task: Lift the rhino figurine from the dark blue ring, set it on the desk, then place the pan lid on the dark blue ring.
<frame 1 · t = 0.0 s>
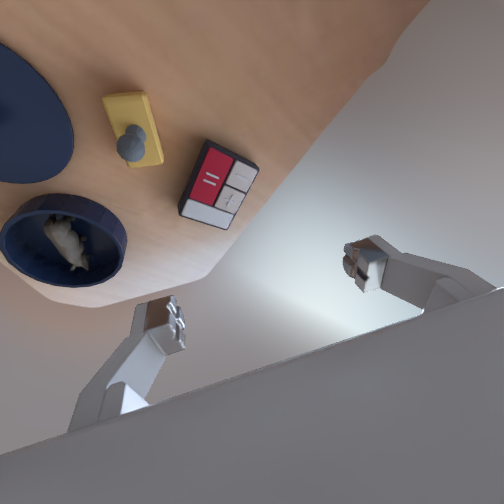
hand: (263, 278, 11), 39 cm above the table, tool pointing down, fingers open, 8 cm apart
calculator: (216, 184, 49), on the table
rubber stamp: (137, 128, 39), on the table
rhino figurine: (75, 235, 48), resting on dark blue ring
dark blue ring: (76, 235, 48), on the table
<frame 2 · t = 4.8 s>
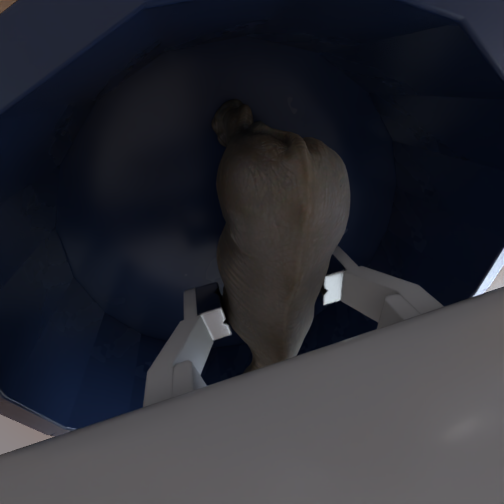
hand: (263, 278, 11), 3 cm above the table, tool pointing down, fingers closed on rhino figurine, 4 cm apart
rhino figurine: (249, 247, 13), resting on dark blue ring, touching gripper
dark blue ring: (249, 246, 13), on the table
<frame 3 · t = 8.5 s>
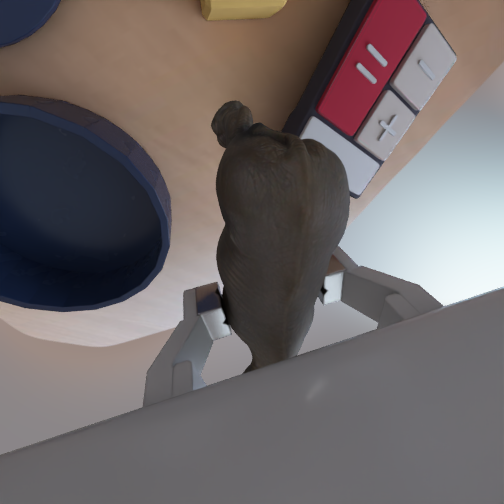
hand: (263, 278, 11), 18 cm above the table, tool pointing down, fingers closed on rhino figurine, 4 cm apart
calculator: (348, 105, 25), on the table
rhino figurine: (249, 248, 13), point 15 cm above the table, touching gripper
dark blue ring: (75, 205, 24), on the table
when the fingers open (2 cm above the table, at t = 12.5 s): rhino figurine stays where it is, on the table.
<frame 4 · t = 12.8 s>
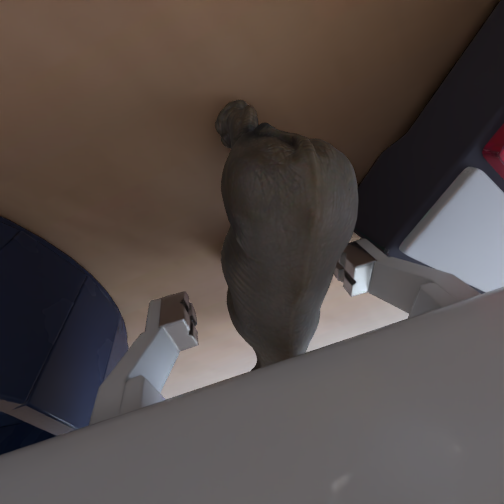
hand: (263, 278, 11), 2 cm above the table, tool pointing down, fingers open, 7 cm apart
calculator: (495, 127, 12), on the table, touching gripper
rhino figurine: (253, 248, 13), on the table
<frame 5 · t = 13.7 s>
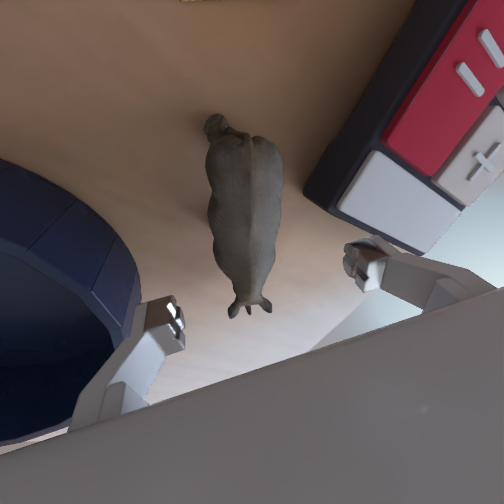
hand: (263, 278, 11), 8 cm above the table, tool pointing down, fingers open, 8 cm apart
calculator: (413, 126, 17), on the table
rhino figurine: (234, 219, 18), on the table
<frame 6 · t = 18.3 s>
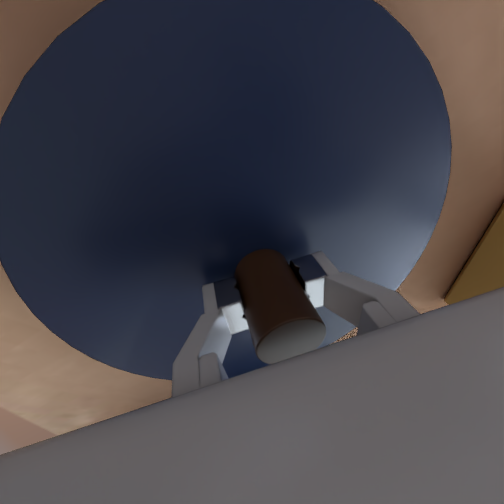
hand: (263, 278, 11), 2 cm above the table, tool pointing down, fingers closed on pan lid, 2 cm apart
pan lid: (257, 263, 12), point 1 cm above the table, touching gripper
rubber stamp: (498, 244, 17), on the table
when the fingers open (7 cm above the table, at t = 25.3 s): pan lid stays where it is, resting on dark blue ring.
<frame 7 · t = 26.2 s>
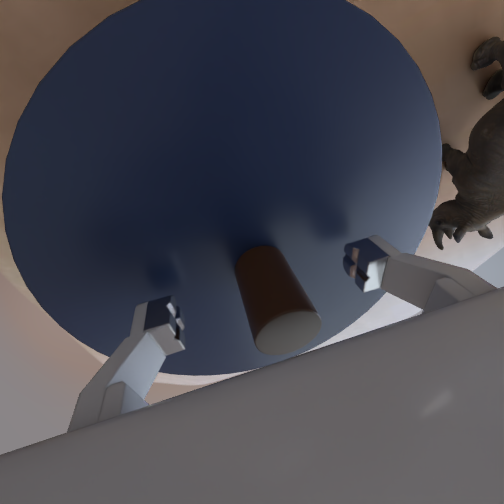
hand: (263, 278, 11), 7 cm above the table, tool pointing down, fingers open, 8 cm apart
pan lid: (256, 259, 12), point 6 cm above the table, touching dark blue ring
rhino figurine: (442, 155, 19), on the table
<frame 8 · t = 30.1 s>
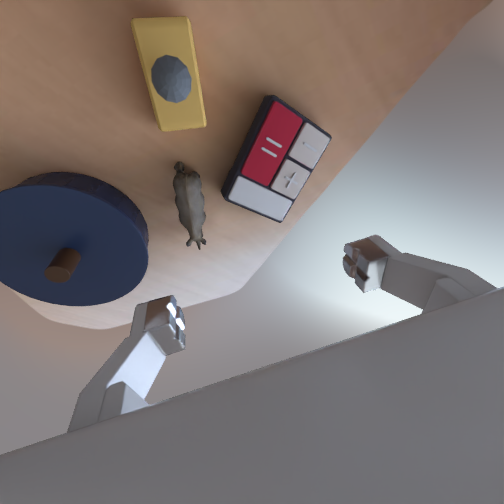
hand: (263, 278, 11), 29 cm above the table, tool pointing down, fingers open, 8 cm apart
calculator: (270, 162, 38), on the table
pan lid: (71, 253, 32), point 6 cm above the table, touching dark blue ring
rubber stamp: (173, 80, 29), on the table
rhino figurine: (191, 204, 38), on the table
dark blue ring: (84, 231, 37), on the table
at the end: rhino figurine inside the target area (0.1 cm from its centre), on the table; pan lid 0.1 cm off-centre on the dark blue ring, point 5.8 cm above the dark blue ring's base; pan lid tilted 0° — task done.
